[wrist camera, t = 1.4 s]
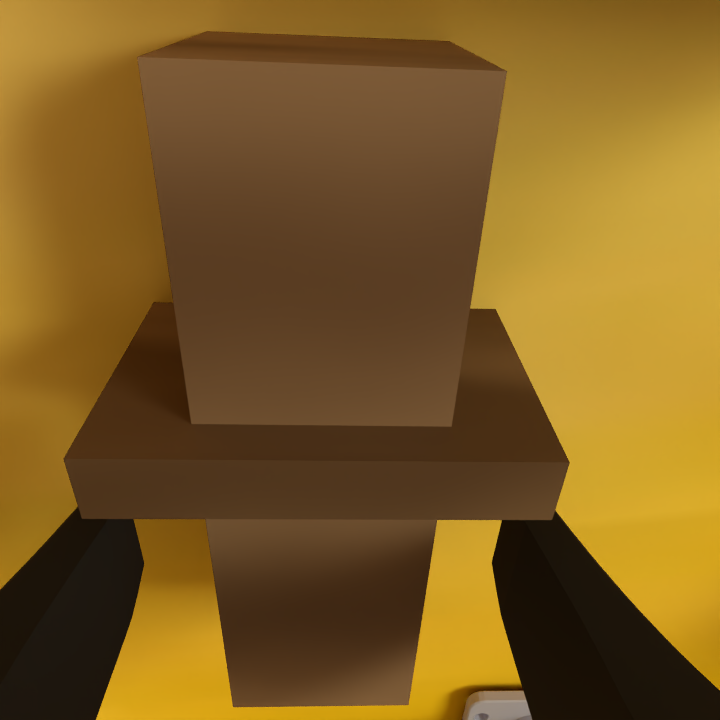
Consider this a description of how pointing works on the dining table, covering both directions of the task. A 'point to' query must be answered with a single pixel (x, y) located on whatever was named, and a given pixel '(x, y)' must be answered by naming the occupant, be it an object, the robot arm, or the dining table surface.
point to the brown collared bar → (319, 350)
